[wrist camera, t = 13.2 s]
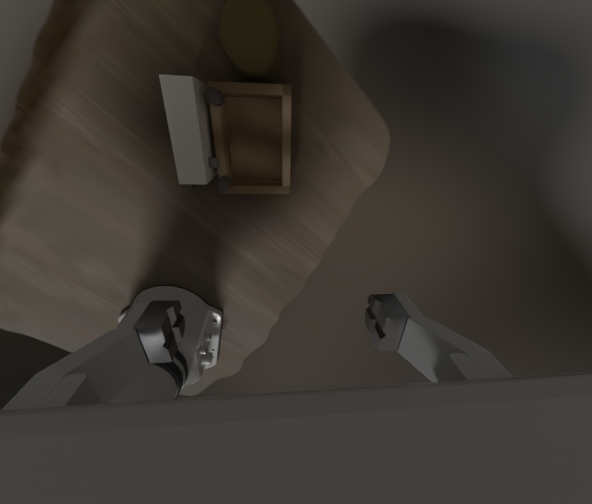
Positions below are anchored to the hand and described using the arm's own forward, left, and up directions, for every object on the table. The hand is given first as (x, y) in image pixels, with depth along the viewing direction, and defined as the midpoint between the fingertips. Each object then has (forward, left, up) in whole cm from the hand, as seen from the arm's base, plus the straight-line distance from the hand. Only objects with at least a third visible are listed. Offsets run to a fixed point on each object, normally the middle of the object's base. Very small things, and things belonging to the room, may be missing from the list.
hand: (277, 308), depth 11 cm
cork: (+14, +2, -29) cm, 33 cm away
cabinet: (+5, +5, -29) cm, 30 cm away
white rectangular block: (+6, +9, -29) cm, 31 cm away
